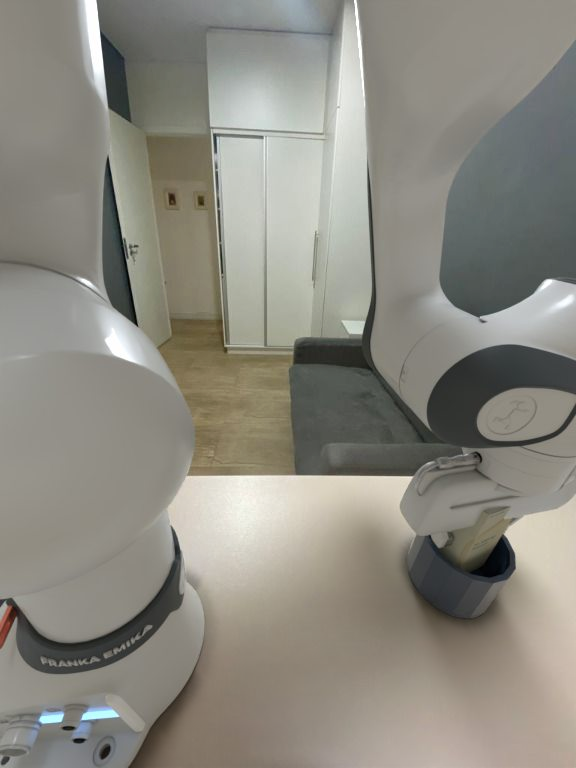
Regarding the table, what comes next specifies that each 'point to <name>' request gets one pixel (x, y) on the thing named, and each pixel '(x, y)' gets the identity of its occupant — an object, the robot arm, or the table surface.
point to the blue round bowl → (459, 577)
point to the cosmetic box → (476, 540)
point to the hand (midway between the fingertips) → (467, 535)
